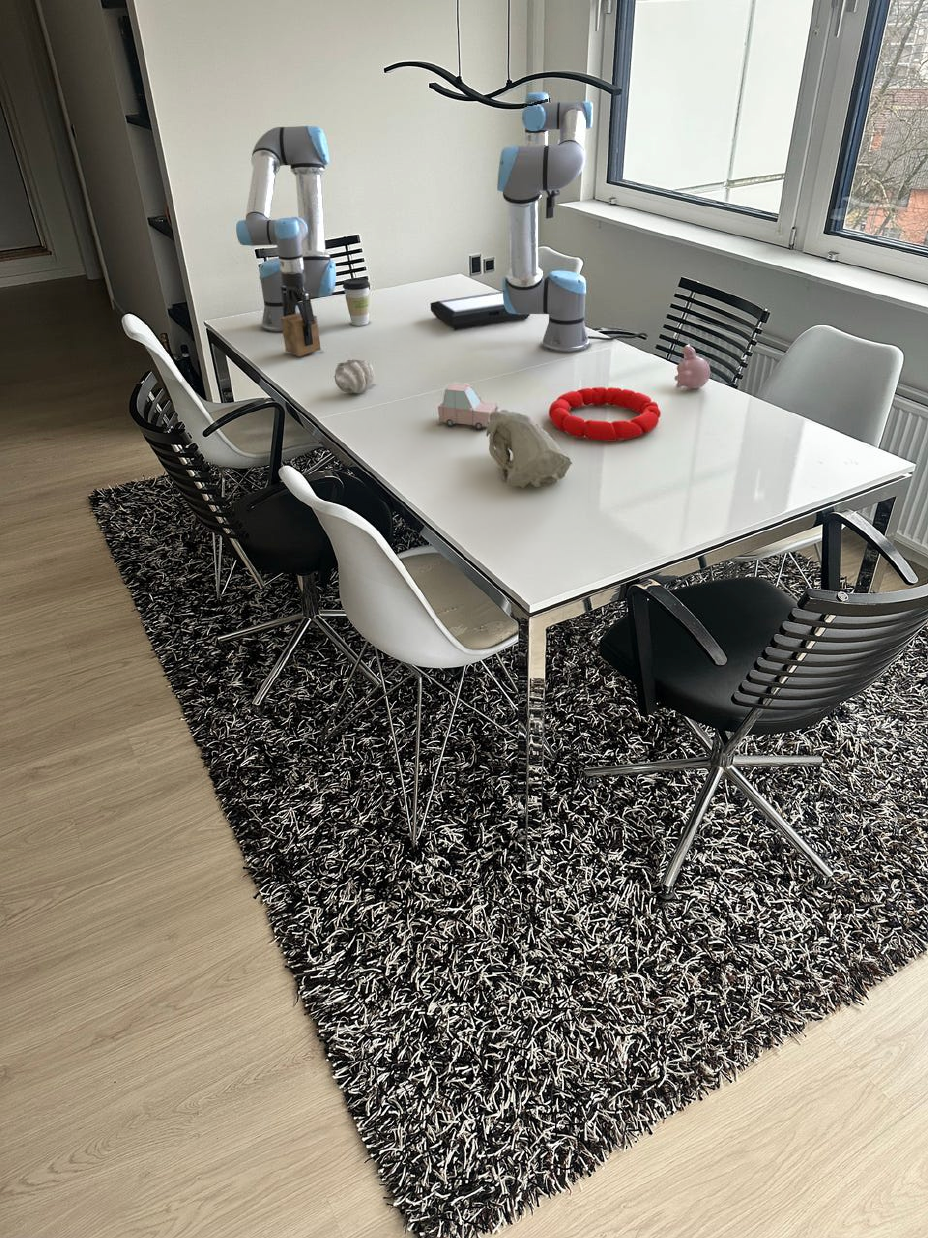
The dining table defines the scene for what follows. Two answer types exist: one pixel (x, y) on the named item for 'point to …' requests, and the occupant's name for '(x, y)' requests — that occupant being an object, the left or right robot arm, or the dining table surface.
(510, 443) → the animal skull
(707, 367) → the figurine
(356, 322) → the coffee cup
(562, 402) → the decorative ring
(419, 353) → the dining table surface
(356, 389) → the seashell
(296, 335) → the brown wooden block
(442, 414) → the toy car
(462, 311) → the electronic device
